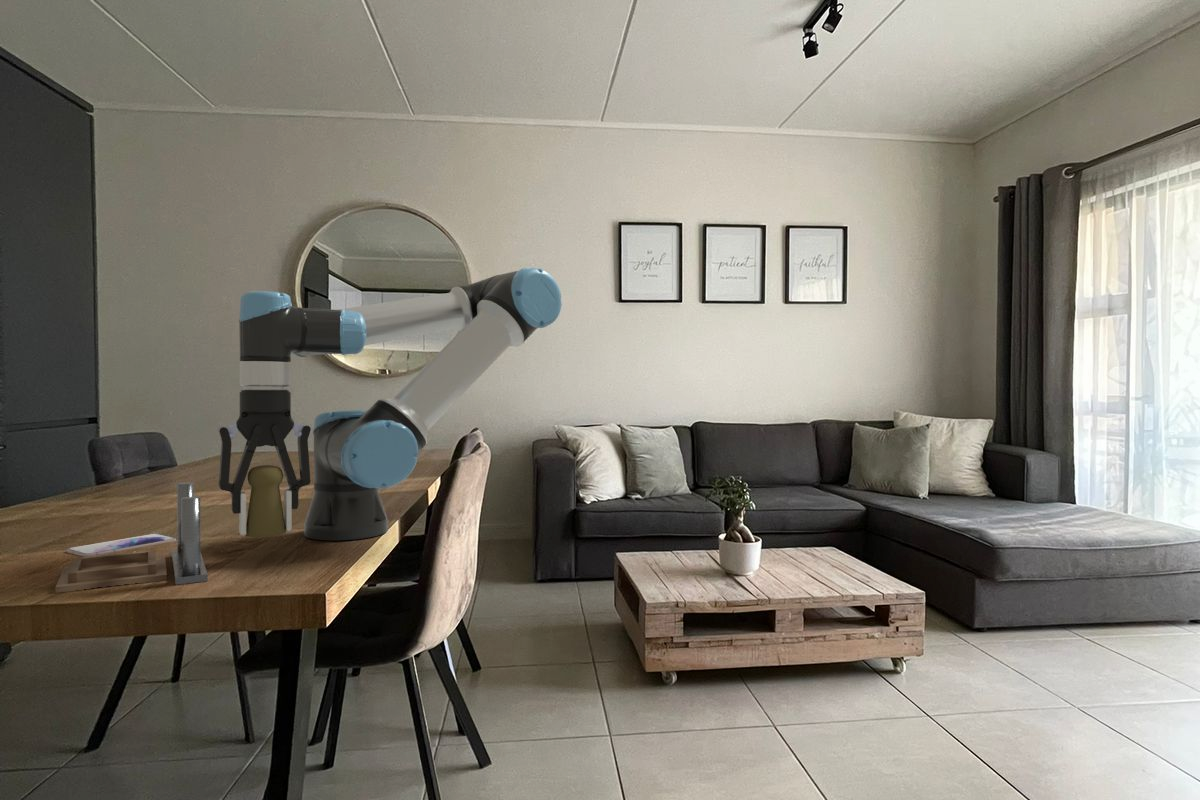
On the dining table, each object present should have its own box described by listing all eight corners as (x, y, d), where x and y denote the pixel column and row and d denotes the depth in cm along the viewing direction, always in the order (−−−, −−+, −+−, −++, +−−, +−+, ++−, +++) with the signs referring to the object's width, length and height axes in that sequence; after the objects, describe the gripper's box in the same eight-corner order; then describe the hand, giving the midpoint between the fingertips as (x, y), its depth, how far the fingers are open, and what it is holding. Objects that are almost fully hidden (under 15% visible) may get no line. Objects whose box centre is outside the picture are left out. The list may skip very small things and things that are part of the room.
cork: (269, 528, 123) (268, 463, 123) (293, 532, 121) (293, 465, 120) (236, 534, 118) (236, 466, 118) (261, 538, 115) (261, 468, 115)
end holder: (165, 561, 118) (164, 547, 118) (166, 580, 106) (166, 565, 106) (64, 571, 111) (64, 557, 111) (55, 593, 100) (55, 576, 100)
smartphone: (177, 538, 133) (86, 554, 120) (177, 543, 133) (86, 560, 120) (155, 532, 137) (64, 548, 124) (155, 537, 137) (64, 553, 124)
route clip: (199, 553, 123) (198, 481, 123) (207, 581, 106) (207, 498, 106) (171, 556, 121) (171, 483, 121) (175, 584, 104) (174, 500, 104)
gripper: (322, 388, 127) (322, 522, 127) (197, 388, 117) (197, 533, 117) (331, 389, 121) (331, 529, 121) (199, 388, 111) (200, 541, 111)
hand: (265, 531), depth 119 cm, fingers closed on cork, 6 cm apart
